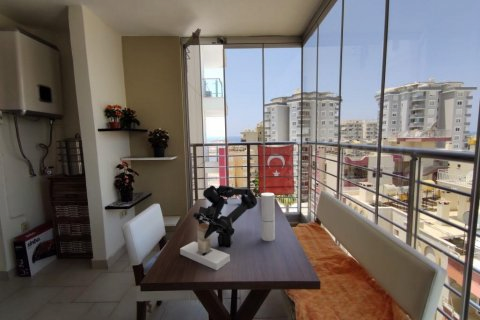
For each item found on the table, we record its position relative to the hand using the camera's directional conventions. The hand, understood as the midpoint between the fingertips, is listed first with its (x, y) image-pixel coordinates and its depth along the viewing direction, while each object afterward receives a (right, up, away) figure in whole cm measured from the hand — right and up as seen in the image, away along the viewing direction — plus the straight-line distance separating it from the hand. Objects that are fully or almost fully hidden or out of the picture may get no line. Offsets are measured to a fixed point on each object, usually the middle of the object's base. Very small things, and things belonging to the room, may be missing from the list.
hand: (201, 237), depth 108 cm
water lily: (+22, -1, +83) cm, 86 cm away
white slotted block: (+1, -10, +2) cm, 11 cm away
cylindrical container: (+34, -8, +21) cm, 40 cm away
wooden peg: (+1, -6, +2) cm, 7 cm away
